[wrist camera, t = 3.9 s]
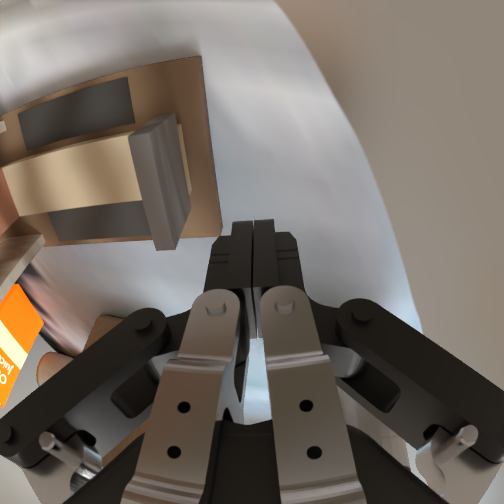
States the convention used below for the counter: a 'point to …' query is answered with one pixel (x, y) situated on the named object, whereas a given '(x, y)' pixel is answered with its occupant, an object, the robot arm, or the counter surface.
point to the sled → (107, 178)
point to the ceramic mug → (51, 365)
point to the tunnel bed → (101, 125)
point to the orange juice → (15, 336)
